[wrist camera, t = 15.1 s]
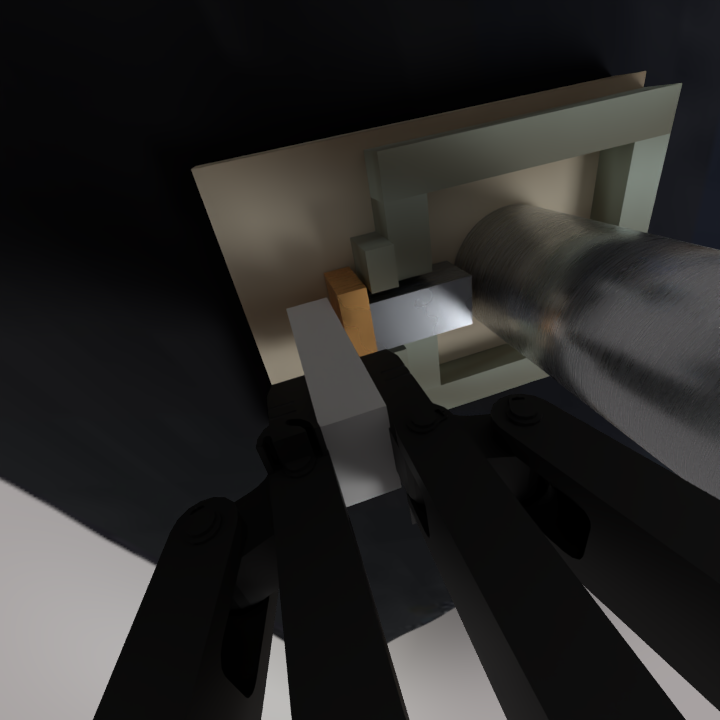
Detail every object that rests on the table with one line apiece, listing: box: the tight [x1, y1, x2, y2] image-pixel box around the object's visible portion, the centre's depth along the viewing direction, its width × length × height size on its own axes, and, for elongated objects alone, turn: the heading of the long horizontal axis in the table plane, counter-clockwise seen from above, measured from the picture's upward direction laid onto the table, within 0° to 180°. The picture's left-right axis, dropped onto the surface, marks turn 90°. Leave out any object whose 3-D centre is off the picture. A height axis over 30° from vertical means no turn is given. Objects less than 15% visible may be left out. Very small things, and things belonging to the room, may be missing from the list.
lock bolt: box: [323, 260, 472, 357], centre depth 15 cm, size 4×5×2 cm
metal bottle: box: [454, 204, 720, 499], centre depth 11 cm, size 5×5×12 cm
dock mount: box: [191, 71, 682, 409], centre depth 16 cm, size 12×16×4 cm
